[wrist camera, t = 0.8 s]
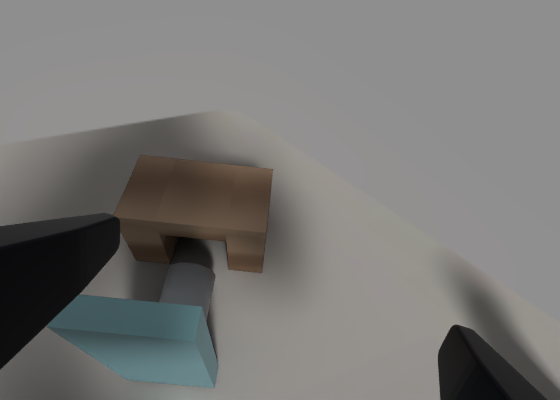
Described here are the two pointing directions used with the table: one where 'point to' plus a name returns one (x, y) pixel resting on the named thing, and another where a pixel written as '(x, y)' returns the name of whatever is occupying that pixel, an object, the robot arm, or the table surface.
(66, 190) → the table surface
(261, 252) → the socket block
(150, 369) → the pale blue board
